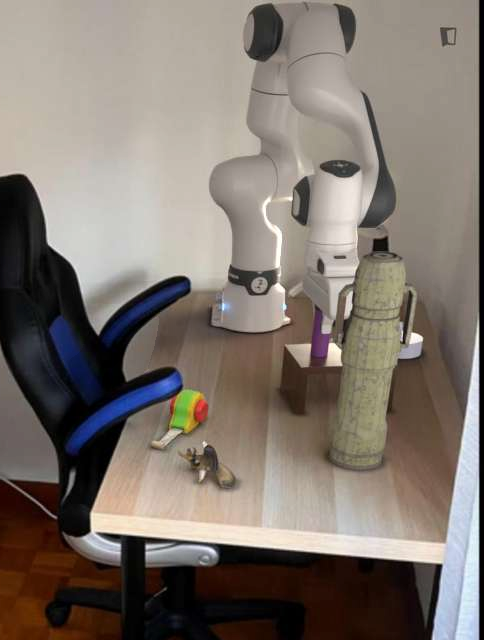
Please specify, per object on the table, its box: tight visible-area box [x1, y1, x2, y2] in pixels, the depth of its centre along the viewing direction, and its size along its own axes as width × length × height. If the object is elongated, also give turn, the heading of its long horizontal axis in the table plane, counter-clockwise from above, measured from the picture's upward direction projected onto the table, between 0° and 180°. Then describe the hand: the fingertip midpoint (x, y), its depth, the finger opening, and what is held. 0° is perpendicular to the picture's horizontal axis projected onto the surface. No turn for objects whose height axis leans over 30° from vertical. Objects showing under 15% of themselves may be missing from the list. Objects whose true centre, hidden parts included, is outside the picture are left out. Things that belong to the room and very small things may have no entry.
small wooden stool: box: [279, 342, 399, 415], centre depth 188 cm, size 13×18×10 cm
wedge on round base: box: [398, 321, 424, 360], centre depth 213 cm, size 9×7×13 cm
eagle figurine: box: [176, 441, 237, 489], centre depth 161 cm, size 8×7×9 cm
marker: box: [310, 304, 331, 357], centre depth 183 cm, size 4×4×12 cm
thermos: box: [328, 250, 419, 471], centre depth 159 cm, size 9×12×35 cm
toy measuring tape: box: [150, 389, 209, 450], centre depth 178 cm, size 6×20×7 cm, turn 147°
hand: (321, 329), depth 184 cm, fingers closed on marker, 3 cm apart
